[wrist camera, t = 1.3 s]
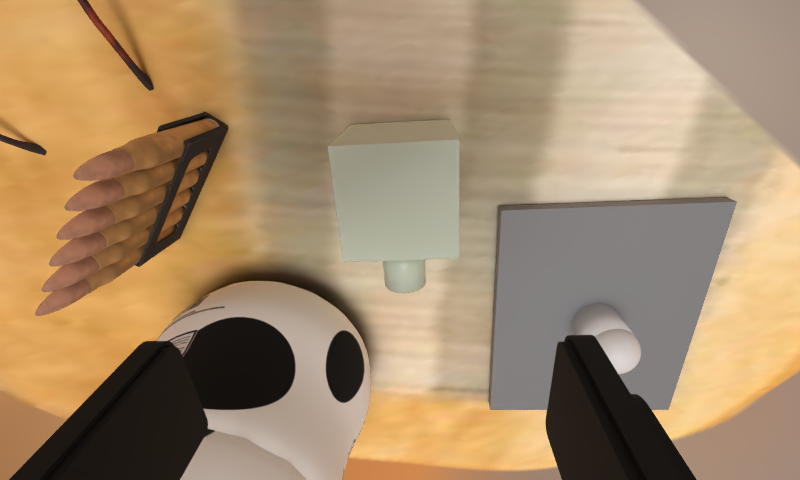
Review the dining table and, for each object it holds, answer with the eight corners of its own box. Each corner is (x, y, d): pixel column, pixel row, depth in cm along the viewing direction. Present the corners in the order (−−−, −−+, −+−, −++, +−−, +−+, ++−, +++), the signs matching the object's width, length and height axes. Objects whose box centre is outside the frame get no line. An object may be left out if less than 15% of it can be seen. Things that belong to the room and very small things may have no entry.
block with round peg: (350, 124, 27) (327, 146, 20) (449, 119, 26) (459, 139, 19) (365, 252, 31) (349, 306, 24) (450, 250, 30) (458, 304, 24)
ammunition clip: (204, 110, 27) (57, 146, 16) (229, 126, 27) (101, 170, 16) (157, 227, 31) (14, 318, 20) (179, 239, 31) (51, 335, 20)
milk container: (353, 429, 40) (306, 686, 23) (185, 389, 38) (13, 631, 22) (398, 294, 32) (374, 532, 16) (193, 240, 31) (-57, 437, 15)
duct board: (498, 205, 28) (517, 240, 23) (726, 197, 27) (801, 231, 22) (488, 401, 37) (500, 459, 32) (662, 400, 36) (705, 461, 30)
